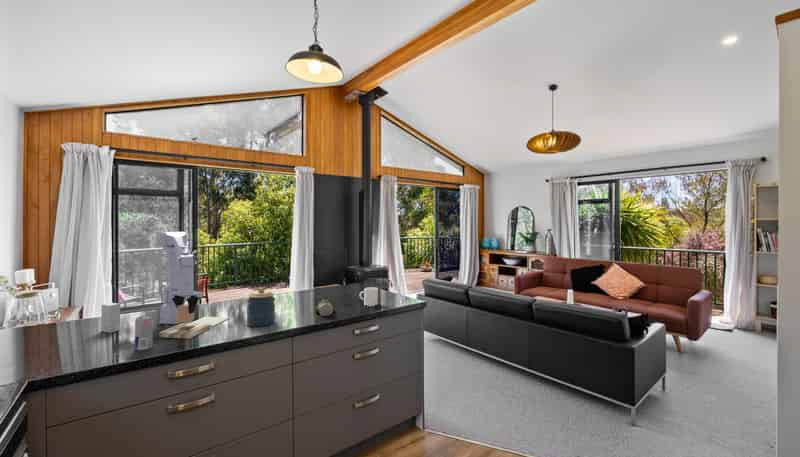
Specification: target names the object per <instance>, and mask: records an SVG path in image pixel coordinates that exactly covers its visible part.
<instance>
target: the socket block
mask: <svg viewBox="0 0 800 457" xmlns="http://www.w3.org/2000/svg"><path fill="white" fill-rule="evenodd" d="M211 327H212V326H211V324H197V323H192V322H181V323H179V324H175V325H174V326H171V327H169V328H167V329H164V330H162V331H160V332H159V333H158V334H159V338H168V339H188V340H189V339H190V340H191V339H192V338H194V337H196V336H198V335H200V334H203V333H205V332H206V331H208V330H210V329H211Z"/></svg>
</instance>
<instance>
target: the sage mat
mask: <svg viewBox="0 0 800 457" xmlns="http://www.w3.org/2000/svg"><path fill="white" fill-rule="evenodd" d="M229 319H230V317H226V316H225V317H223V316H222V317H221V316H203V317H201V318H199V319H197V320H194V321H191V323H197V324H211V327H216V326H217V325H219V324H221V323H224V322H225V321H228V320H229Z"/></svg>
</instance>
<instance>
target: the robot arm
mask: <svg viewBox="0 0 800 457" xmlns="http://www.w3.org/2000/svg"><path fill="white" fill-rule="evenodd" d="M187 243H188V234H187V232H186V231H163V232H162V233H161V248H162V250H164V251H166V252H167V262H168V263H167V264H168V279H169V280H168V281H169V282H168V283H169V284H167V285H166V286H164V287H163V290H162V303H163V304H162V305H161V307H160V312H159V315H160V318H159V319H160V321H159V322H158V324H165V325H166V324H167V325H168V324H169V325H179V324H181V323H182V322H177V306H179V305H182V304H185V303H186V302H187V304H188V306H189V314H191V313H194V314H195V309H196V306H197V303H198V302H199V299H200V298H203V297H204V292H203V291H195V290H194V286H195V285H194V282H195V281H194V280H195V279H194V277H195V276H194V270H195V269H194V268H196V264H197V263H196V255H195V254H193V253H191V251H190V248H189V247H188V246H186V245H187Z"/></svg>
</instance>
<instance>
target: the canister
mask: <svg viewBox="0 0 800 457" xmlns="http://www.w3.org/2000/svg"><path fill="white" fill-rule="evenodd" d="M248 297H249V298H248V299H246V302H247V306H246V325H247V327H250V328H262V327H269V326H272V325H274V324H275V322H276V304H275V301H276V297H275V296H274V292H272V291H270V290H265V288H264V287H259V288H258V289H257V290H255V291H252V292H251V293H249V294H248Z"/></svg>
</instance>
